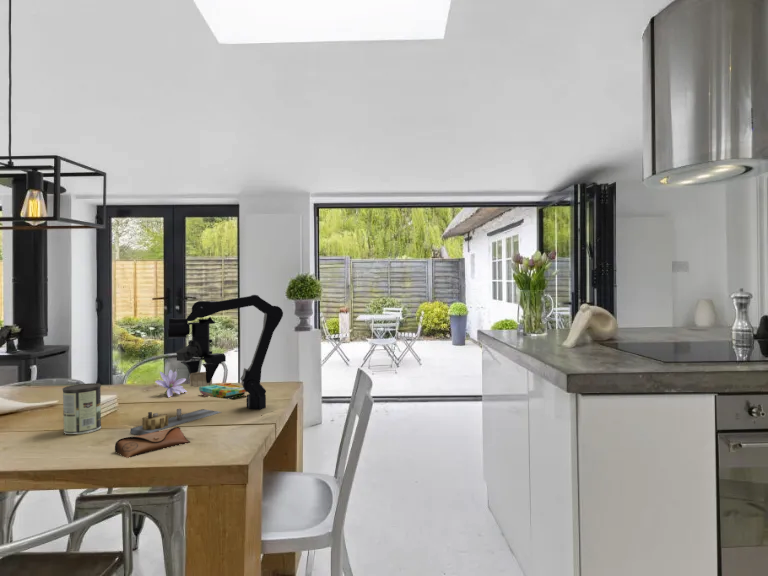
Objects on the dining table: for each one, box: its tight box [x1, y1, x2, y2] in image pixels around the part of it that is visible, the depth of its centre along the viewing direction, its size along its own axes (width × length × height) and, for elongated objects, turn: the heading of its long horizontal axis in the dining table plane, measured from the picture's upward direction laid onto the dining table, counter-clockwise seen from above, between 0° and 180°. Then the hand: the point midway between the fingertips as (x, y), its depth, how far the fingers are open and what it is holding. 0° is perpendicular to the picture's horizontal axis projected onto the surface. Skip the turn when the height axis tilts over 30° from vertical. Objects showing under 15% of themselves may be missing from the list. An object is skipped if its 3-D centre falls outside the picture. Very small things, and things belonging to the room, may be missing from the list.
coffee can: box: [62, 382, 102, 435], centre depth 148 cm, size 10×10×14 cm
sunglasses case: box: [114, 426, 191, 459], centre depth 131 cm, size 18×7×7 cm
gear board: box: [130, 408, 222, 436], centre depth 153 cm, size 10×27×6 cm, turn 151°
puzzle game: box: [198, 382, 247, 400], centre depth 196 cm, size 12×5×20 cm
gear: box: [189, 371, 213, 388], centre depth 161 cm, size 7×7×4 cm
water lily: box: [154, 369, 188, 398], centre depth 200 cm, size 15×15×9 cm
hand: (201, 381), depth 161 cm, fingers closed on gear, 7 cm apart
